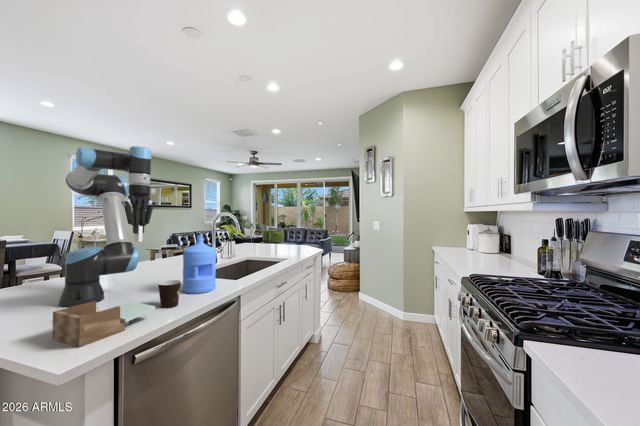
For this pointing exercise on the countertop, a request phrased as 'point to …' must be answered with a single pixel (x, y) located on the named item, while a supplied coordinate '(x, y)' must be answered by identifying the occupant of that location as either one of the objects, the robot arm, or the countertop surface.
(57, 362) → the countertop surface
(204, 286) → the water jug
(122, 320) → the cabinet door
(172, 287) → the coffee mug
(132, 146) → the robot arm
